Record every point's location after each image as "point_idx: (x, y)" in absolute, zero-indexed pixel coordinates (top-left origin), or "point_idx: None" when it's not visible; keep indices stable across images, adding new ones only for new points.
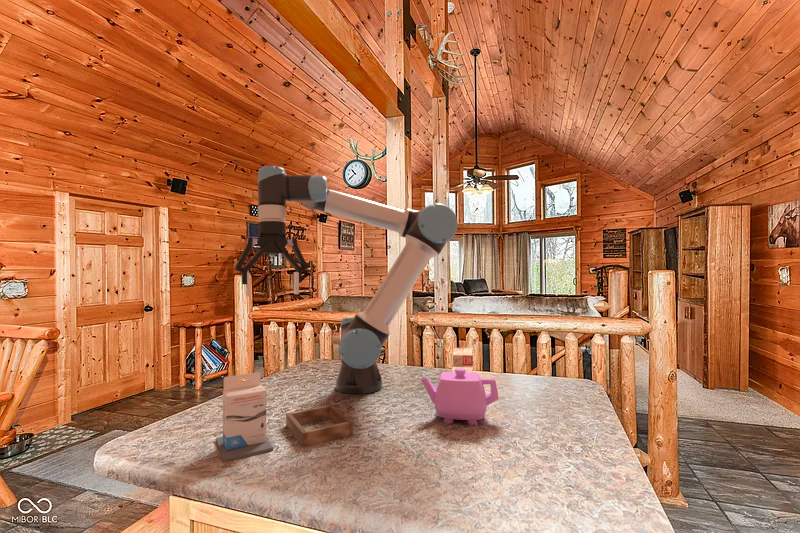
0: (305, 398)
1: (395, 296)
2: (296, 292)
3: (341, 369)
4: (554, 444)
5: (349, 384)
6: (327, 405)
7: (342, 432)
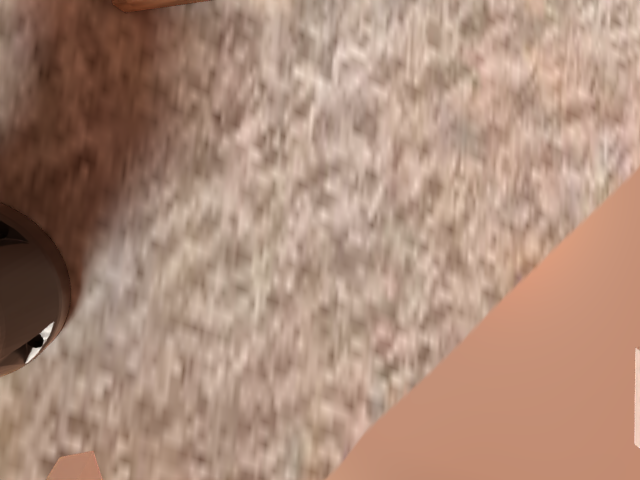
0: (194, 234)
1: None
2: (83, 466)
3: (11, 304)
4: None
5: (8, 237)
6: (128, 2)
7: None
